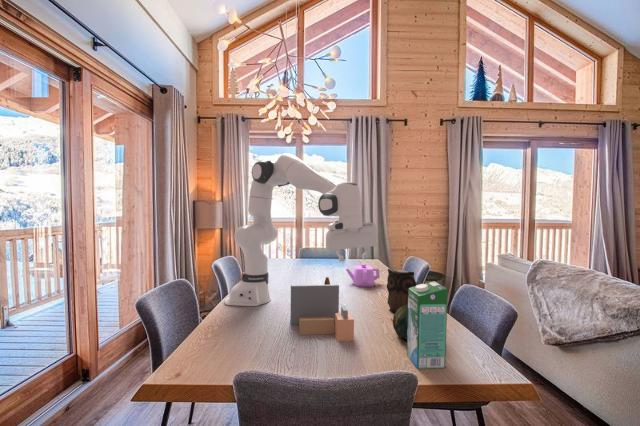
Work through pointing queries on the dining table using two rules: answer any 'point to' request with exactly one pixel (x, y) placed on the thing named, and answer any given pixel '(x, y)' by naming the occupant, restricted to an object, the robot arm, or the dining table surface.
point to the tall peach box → (344, 325)
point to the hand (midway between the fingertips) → (353, 260)
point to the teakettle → (364, 275)
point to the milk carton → (427, 325)
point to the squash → (401, 322)
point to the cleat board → (314, 308)
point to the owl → (399, 288)
